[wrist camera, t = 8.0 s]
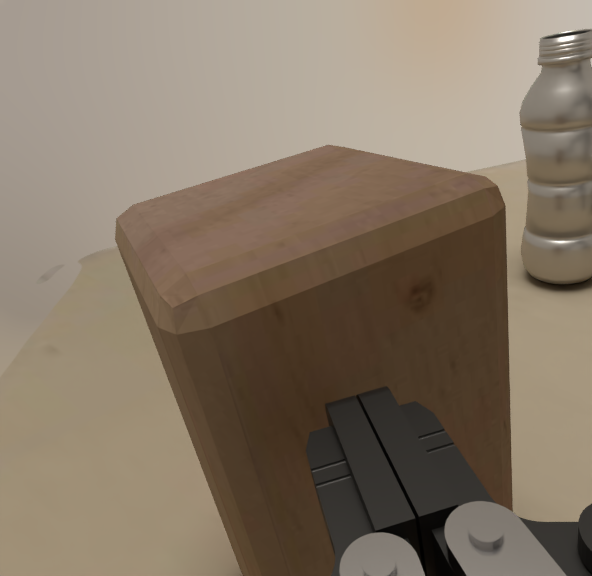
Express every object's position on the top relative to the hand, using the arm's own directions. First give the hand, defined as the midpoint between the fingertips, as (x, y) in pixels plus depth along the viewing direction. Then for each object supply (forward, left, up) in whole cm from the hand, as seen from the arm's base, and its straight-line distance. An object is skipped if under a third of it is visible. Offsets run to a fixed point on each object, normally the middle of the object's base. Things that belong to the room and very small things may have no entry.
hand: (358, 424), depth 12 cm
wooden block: (+3, -6, -16) cm, 18 cm away
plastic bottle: (-8, -38, -16) cm, 42 cm away
